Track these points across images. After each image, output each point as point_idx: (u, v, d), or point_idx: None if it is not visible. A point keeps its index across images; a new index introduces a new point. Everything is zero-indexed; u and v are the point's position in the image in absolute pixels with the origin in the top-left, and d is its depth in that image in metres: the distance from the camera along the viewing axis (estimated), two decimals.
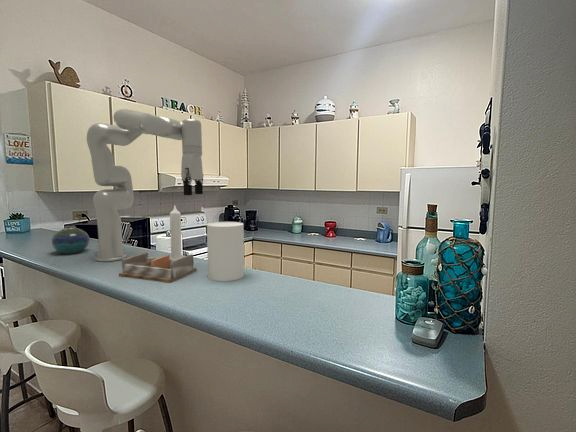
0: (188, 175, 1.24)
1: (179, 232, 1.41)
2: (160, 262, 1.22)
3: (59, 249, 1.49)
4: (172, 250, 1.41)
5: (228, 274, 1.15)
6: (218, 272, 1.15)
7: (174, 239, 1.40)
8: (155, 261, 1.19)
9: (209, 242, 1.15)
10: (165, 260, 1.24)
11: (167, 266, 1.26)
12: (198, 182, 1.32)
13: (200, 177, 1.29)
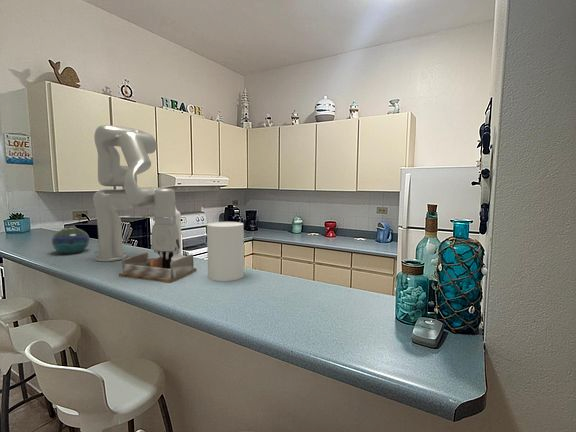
0: None
1: (179, 232, 1.41)
2: (159, 262, 1.22)
3: (59, 249, 1.49)
4: None
5: (228, 274, 1.15)
6: (218, 272, 1.15)
7: None
8: (154, 261, 1.19)
9: (209, 242, 1.15)
10: None
11: None
12: (164, 254, 1.22)
13: None
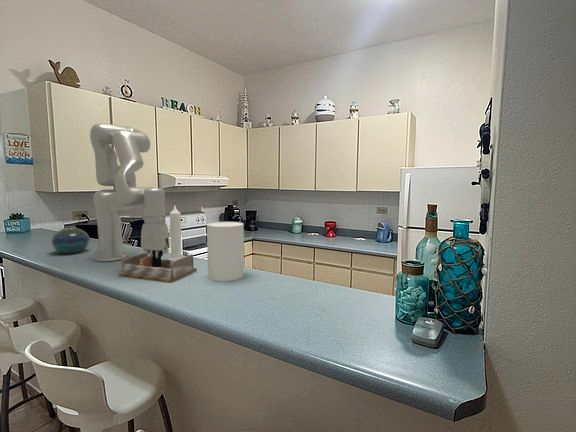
0: None
1: (179, 232, 1.41)
2: (149, 261, 1.23)
3: (59, 249, 1.49)
4: (172, 250, 1.41)
5: (228, 274, 1.15)
6: (218, 272, 1.15)
7: (174, 239, 1.40)
8: (144, 260, 1.20)
9: (209, 242, 1.15)
10: None
11: None
12: (153, 253, 1.23)
13: None
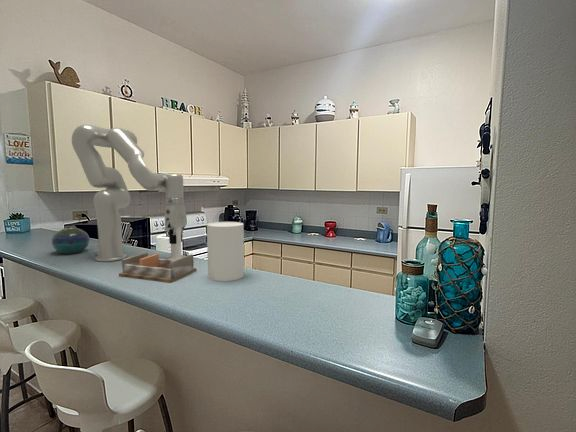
0: None
1: (179, 232, 1.41)
2: (149, 261, 1.23)
3: (59, 249, 1.49)
4: (172, 250, 1.41)
5: (228, 274, 1.15)
6: (218, 272, 1.15)
7: None
8: (144, 260, 1.21)
9: (209, 242, 1.15)
10: (154, 259, 1.26)
11: (156, 265, 1.27)
12: None
13: None
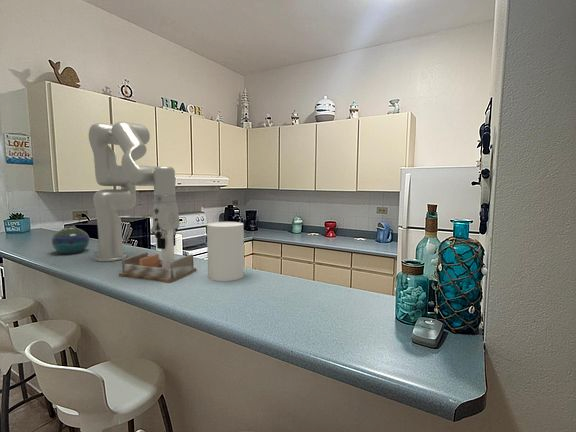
0: None
1: (171, 238, 1.20)
2: (149, 261, 1.23)
3: (59, 249, 1.49)
4: (163, 259, 1.20)
5: (228, 274, 1.15)
6: (218, 272, 1.15)
7: (165, 247, 1.20)
8: (144, 260, 1.21)
9: (209, 242, 1.15)
10: (154, 259, 1.26)
11: (156, 265, 1.27)
12: None
13: None
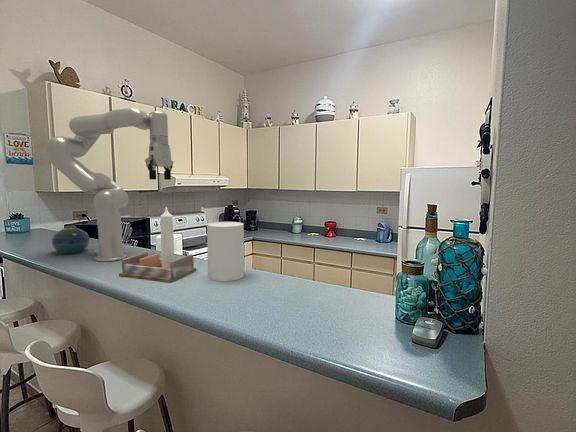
0: None
1: (171, 238, 1.21)
2: (149, 261, 1.23)
3: (59, 249, 1.49)
4: (163, 259, 1.20)
5: (228, 274, 1.15)
6: (218, 272, 1.15)
7: (165, 247, 1.20)
8: (144, 260, 1.21)
9: (209, 242, 1.15)
10: (154, 259, 1.26)
11: (156, 265, 1.27)
12: None
13: None
